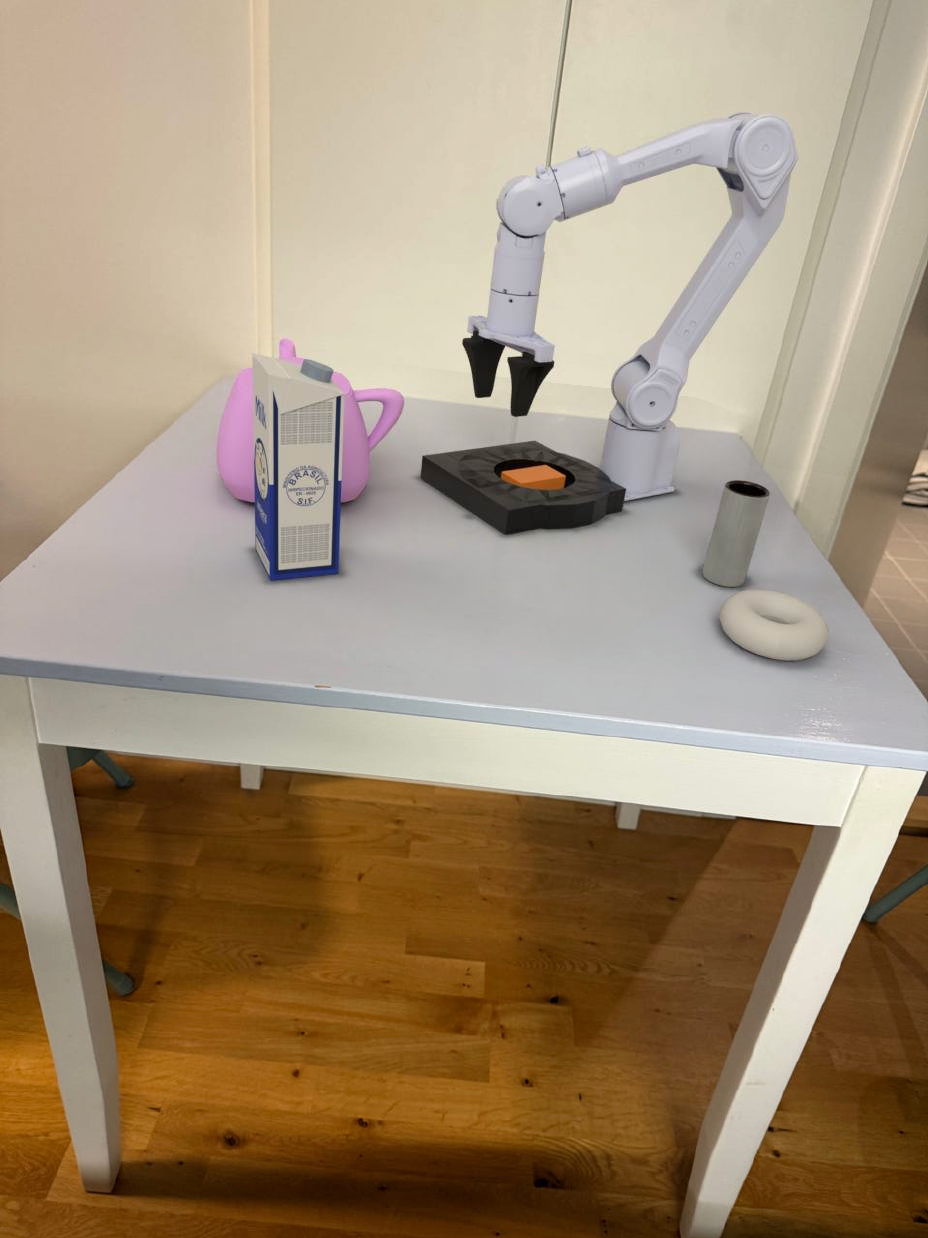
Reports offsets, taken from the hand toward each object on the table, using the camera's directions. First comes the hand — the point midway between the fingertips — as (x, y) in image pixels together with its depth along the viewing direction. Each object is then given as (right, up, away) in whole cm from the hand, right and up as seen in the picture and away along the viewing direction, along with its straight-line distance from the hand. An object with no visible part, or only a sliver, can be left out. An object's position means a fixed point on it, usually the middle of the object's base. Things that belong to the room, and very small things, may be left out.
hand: (500, 405), depth 110 cm
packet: (+4, -11, 0) cm, 12 cm away
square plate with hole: (+3, -11, 0) cm, 12 cm away
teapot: (-25, -11, -4) cm, 27 cm away
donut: (+25, -28, -25) cm, 45 cm away
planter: (+23, -22, -14) cm, 35 cm away
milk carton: (-21, -21, -21) cm, 36 cm away
